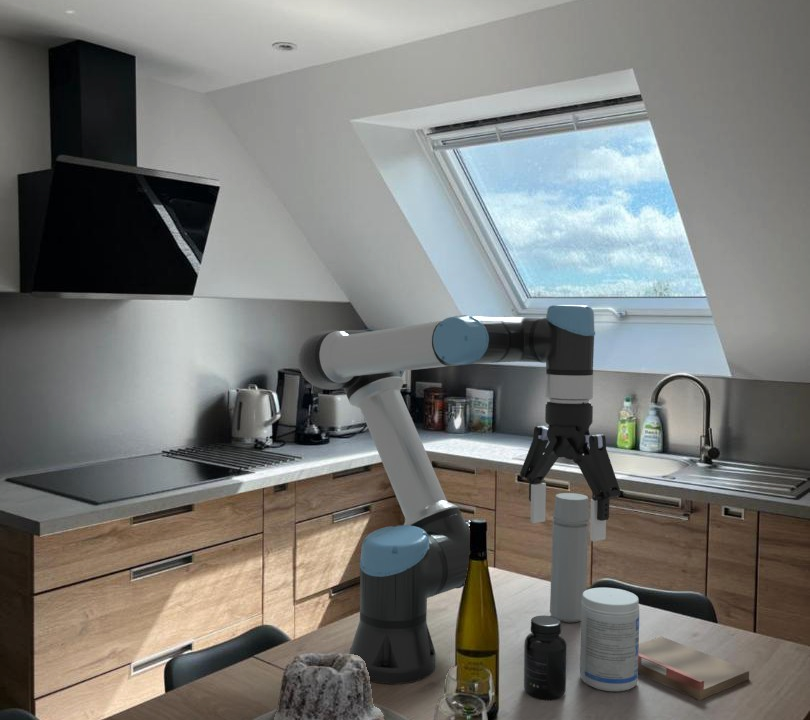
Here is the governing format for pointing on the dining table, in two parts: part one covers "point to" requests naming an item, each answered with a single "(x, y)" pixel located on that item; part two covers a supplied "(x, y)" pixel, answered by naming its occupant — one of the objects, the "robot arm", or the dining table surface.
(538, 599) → the dining table surface
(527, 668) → the supplement bottle
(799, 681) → the dining table surface
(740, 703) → the dining table surface
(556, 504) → the water bottle
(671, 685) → the beige hardcover book
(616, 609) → the supplement tub
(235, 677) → the dining table surface
